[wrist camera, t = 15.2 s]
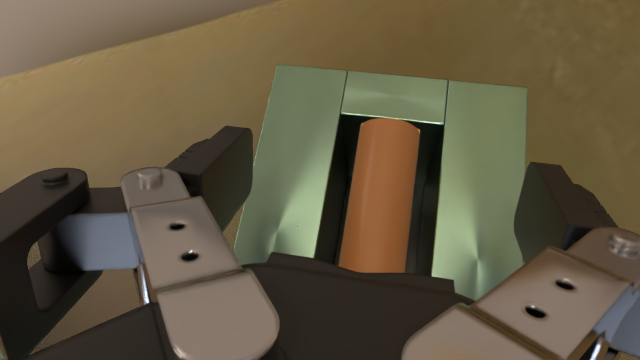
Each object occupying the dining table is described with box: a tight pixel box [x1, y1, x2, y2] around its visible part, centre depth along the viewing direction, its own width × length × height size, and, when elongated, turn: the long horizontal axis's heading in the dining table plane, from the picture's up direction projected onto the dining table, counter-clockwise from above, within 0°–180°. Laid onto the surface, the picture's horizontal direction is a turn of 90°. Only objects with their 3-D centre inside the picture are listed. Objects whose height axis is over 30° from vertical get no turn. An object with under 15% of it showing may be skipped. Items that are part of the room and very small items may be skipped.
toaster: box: [233, 64, 528, 301], centre depth 22 cm, size 14×11×12 cm
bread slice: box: [338, 118, 420, 273], centre depth 18 cm, size 8×2×10 cm, turn 170°
